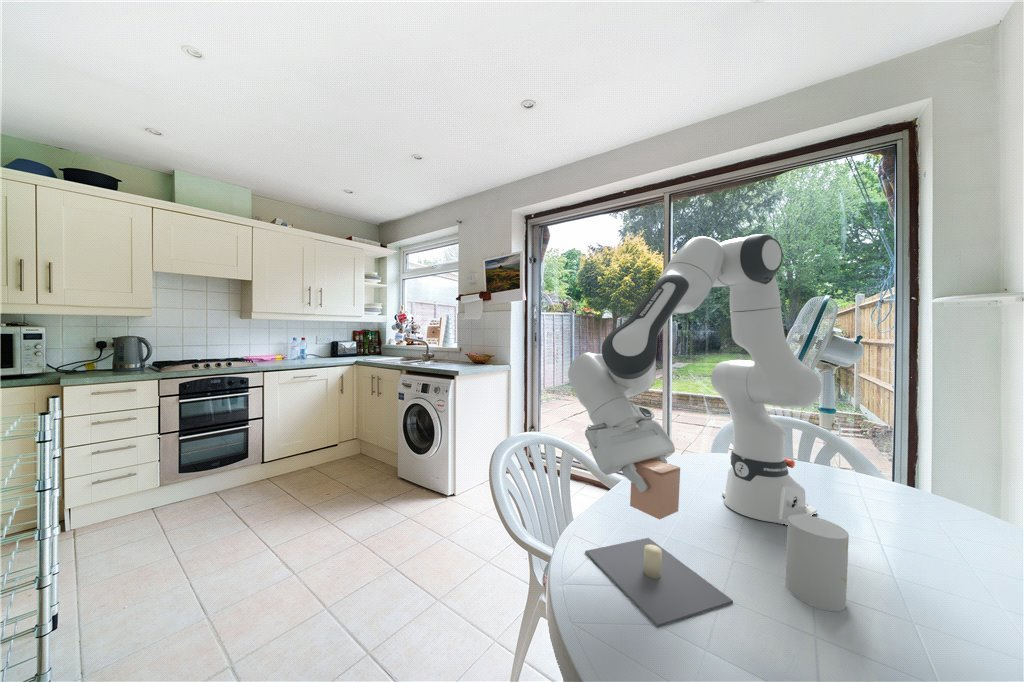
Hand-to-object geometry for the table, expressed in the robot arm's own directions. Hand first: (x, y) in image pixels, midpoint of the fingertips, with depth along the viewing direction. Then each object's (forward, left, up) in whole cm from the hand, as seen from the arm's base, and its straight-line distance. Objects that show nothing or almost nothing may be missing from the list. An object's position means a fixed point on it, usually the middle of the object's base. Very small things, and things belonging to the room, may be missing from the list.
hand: (658, 486), depth 66 cm
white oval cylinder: (-24, +12, -17) cm, 32 cm away
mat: (0, -1, -17) cm, 17 cm away
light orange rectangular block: (0, -1, -4) cm, 4 cm away
